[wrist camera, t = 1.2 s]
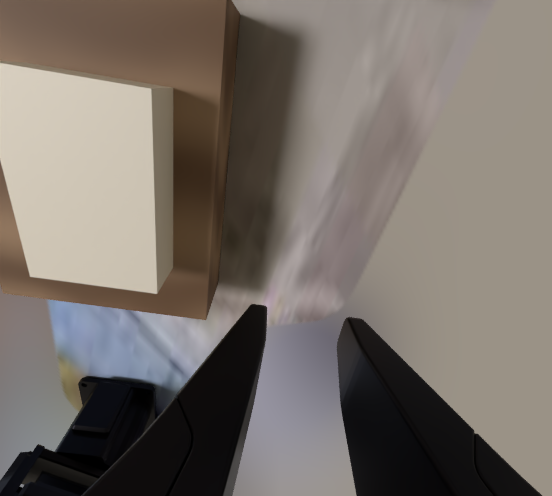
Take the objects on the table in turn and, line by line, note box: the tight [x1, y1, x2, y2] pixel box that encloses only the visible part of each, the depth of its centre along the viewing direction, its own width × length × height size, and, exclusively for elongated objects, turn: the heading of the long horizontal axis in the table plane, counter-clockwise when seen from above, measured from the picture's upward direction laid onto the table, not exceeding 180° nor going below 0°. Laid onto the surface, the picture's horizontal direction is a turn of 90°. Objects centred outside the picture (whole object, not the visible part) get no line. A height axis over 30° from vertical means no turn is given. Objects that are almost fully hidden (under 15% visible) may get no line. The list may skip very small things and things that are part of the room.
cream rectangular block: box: [0, 61, 173, 294], centre depth 14 cm, size 9×6×2 cm, turn 171°
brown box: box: [0, 0, 240, 320], centre depth 17 cm, size 16×12×4 cm
